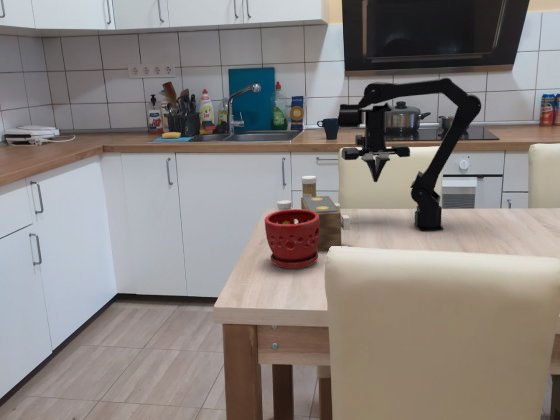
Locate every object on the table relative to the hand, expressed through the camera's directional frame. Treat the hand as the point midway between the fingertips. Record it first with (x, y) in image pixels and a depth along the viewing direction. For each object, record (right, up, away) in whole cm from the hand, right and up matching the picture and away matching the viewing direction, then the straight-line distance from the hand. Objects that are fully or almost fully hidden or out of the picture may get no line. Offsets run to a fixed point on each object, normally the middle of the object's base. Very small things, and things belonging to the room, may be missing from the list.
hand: (375, 181), depth 156 cm
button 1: (-16, -10, -3) cm, 19 cm away
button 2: (-14, -13, -16) cm, 25 cm away
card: (-17, -7, -11) cm, 21 cm away
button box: (-16, -16, -8) cm, 25 cm away
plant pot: (-24, -21, -24) cm, 40 cm away
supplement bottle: (-26, -15, -2) cm, 30 cm away
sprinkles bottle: (-18, -11, +13) cm, 25 cm away
